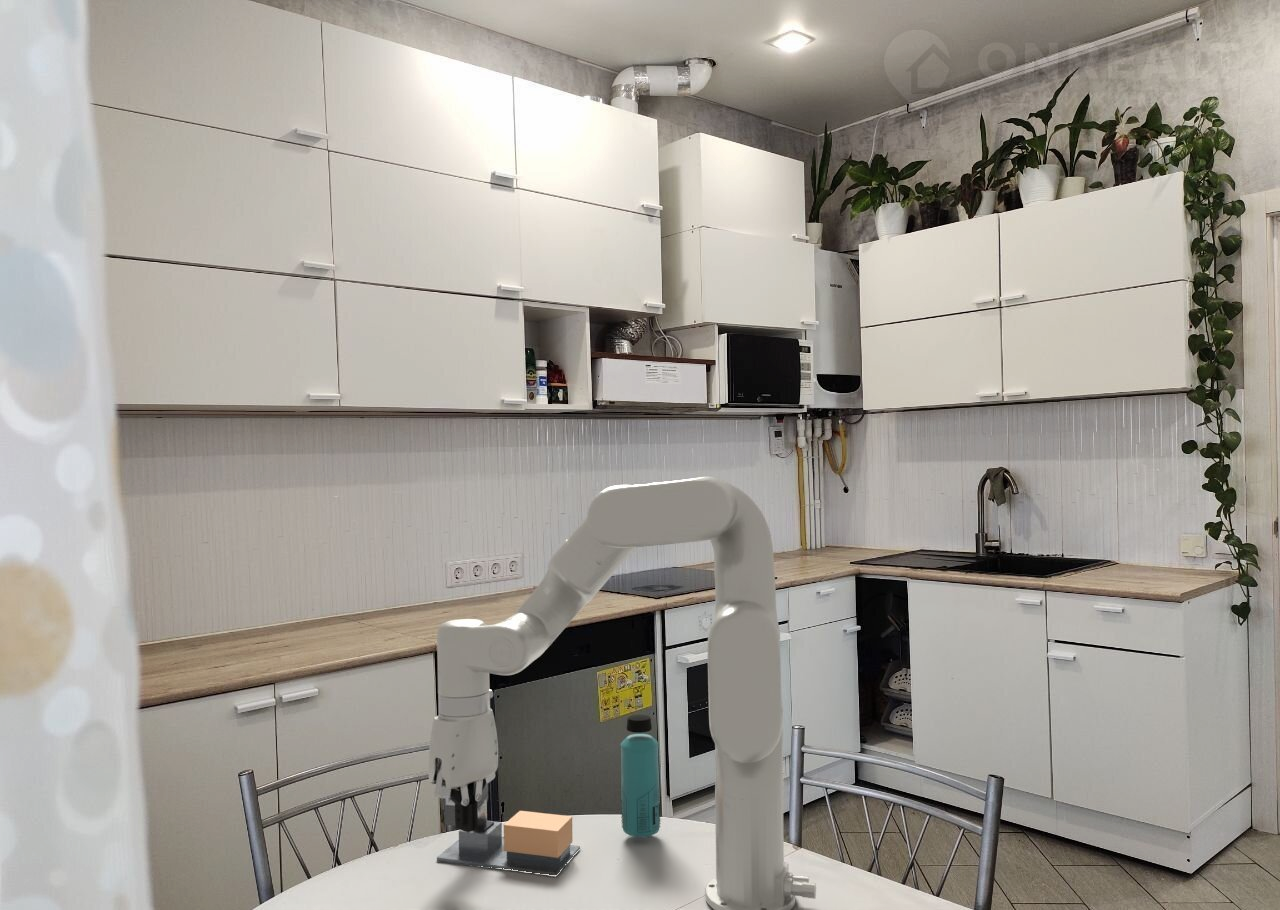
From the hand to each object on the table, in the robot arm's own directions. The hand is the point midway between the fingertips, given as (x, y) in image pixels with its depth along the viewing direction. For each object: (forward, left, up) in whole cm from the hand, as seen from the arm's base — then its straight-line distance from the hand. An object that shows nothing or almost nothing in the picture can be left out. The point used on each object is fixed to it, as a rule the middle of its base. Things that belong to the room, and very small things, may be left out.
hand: (466, 828), depth 134 cm
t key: (+3, -5, -3) cm, 7 cm away
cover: (-7, -10, -6) cm, 14 cm away
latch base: (-2, -10, -8) cm, 13 cm away
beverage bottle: (-20, -22, -8) cm, 31 cm away
